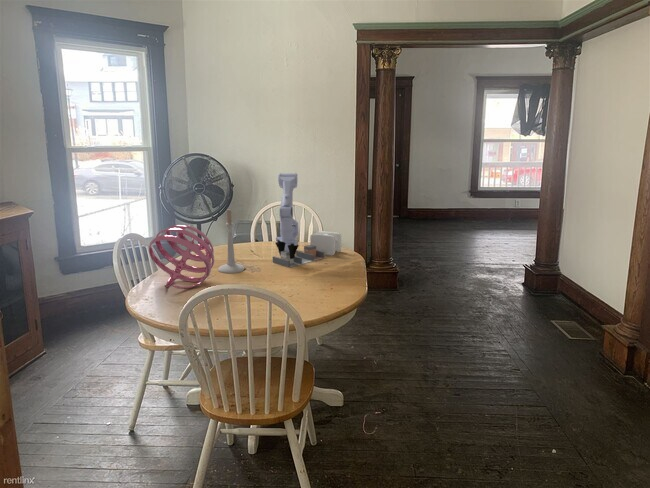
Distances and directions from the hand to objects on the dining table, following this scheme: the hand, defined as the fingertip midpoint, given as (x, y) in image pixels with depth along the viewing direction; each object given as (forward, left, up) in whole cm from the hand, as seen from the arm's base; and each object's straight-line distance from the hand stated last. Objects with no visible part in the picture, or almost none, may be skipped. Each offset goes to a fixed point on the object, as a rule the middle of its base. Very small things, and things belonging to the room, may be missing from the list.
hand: (287, 257), depth 251 cm
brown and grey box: (0, +16, -3) cm, 16 cm away
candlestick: (-13, -24, -4) cm, 28 cm away
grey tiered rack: (0, +8, -4) cm, 9 cm away
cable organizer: (-2, +30, -4) cm, 30 cm away
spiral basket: (-8, -52, -4) cm, 53 cm away
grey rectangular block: (0, 0, -3) cm, 3 cm away
